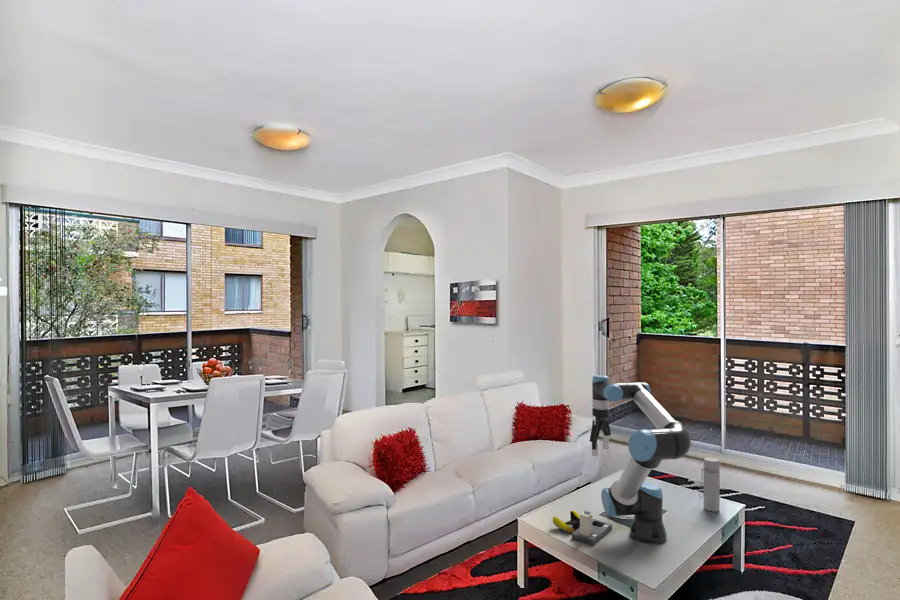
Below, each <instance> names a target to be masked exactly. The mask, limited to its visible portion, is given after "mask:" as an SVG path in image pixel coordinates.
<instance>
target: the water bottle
mask: <svg viewBox="0 0 900 600" xmlns="http://www.w3.org/2000/svg"><path fill="white" fill-rule="evenodd" d="M700 469H701V475H700V477H701V478H700V479H701V482H700V483H699V487H701V485H702V482H703V495H702V496H701V490H699V492H698V493H699V498H700V499H703V508H704V510H706V511H709V512H711V511H712V513H713V512H716V513H717V512H719V511H720V509H721V508H720V502H721V501H720V500H721V499H720V493H721V492H720V491H721V490H720V489H721V487H720V484H721V483H720V473H721V472H720V471H721V469H720V461H719V459H718V458H714V457H705V458H704V459H703V466H702V467H701V468H700Z"/></svg>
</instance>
